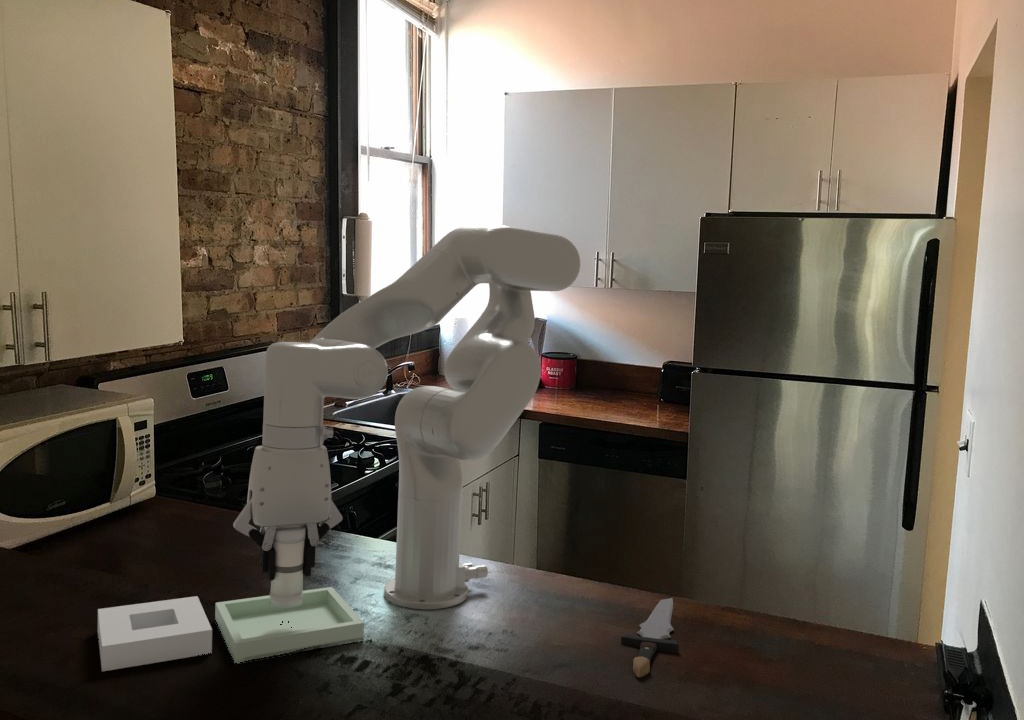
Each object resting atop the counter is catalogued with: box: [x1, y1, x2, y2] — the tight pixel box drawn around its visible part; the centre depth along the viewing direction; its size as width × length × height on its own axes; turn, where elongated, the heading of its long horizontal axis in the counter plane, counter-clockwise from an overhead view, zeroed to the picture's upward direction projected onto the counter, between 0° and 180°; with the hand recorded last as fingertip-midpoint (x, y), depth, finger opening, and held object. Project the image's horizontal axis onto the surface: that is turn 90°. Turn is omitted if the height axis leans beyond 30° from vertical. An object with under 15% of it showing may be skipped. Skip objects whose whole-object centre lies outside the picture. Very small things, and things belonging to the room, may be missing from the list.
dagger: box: [620, 597, 680, 678], centre depth 112 cm, size 8×32×2 cm, turn 170°
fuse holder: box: [97, 595, 213, 672], centre depth 100 cm, size 12×12×3 cm
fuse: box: [269, 525, 306, 608], centre depth 105 cm, size 4×4×10 cm
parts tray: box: [214, 586, 365, 664], centre depth 106 cm, size 16×14×2 cm
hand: (287, 573), depth 105 cm, fingers closed on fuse, 4 cm apart
